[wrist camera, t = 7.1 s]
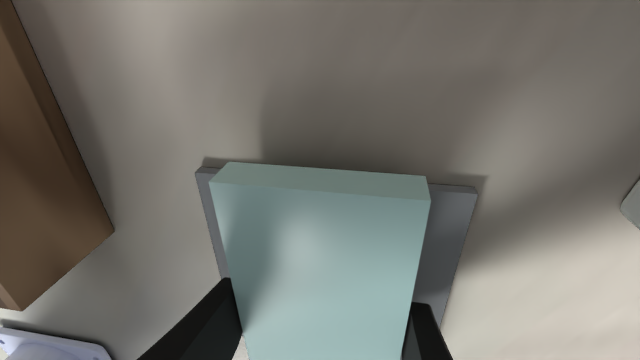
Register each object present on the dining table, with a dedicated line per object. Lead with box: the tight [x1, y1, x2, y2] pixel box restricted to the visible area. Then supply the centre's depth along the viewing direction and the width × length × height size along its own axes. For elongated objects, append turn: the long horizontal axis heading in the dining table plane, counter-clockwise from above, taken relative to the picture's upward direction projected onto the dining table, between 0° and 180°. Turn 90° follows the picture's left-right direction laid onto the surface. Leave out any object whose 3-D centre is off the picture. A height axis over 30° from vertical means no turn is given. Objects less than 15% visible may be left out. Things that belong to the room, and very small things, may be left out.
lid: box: [209, 162, 431, 360], centre depth 11 cm, size 11×6×1 cm, turn 1°
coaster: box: [195, 167, 478, 360], centre depth 12 cm, size 9×9×1 cm
